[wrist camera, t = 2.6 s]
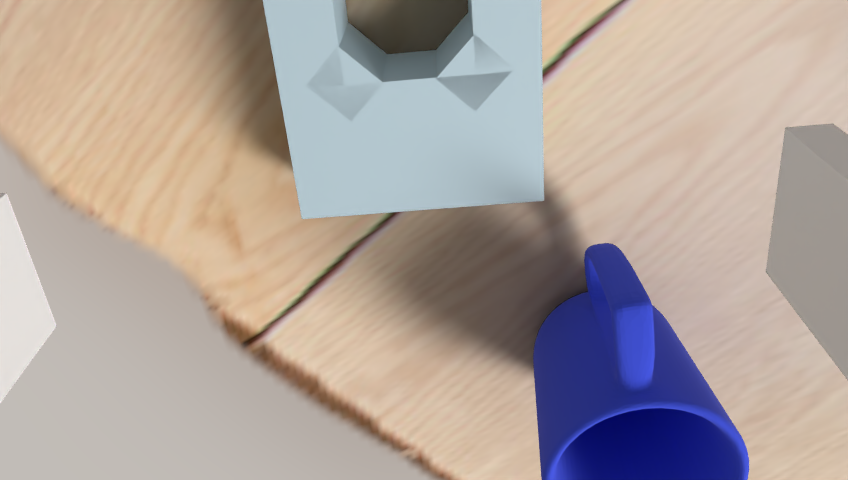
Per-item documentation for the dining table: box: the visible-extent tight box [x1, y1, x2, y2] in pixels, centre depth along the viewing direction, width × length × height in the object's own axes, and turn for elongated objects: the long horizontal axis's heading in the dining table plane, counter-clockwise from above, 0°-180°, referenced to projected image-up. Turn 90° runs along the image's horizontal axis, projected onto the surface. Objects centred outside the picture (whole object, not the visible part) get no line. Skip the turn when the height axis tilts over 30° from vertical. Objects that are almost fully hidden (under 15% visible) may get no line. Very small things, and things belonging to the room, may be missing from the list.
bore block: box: [263, 0, 544, 219], centre depth 30 cm, size 16×10×4 cm, turn 5°
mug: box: [533, 243, 749, 480], centre depth 35 cm, size 8×12×10 cm
